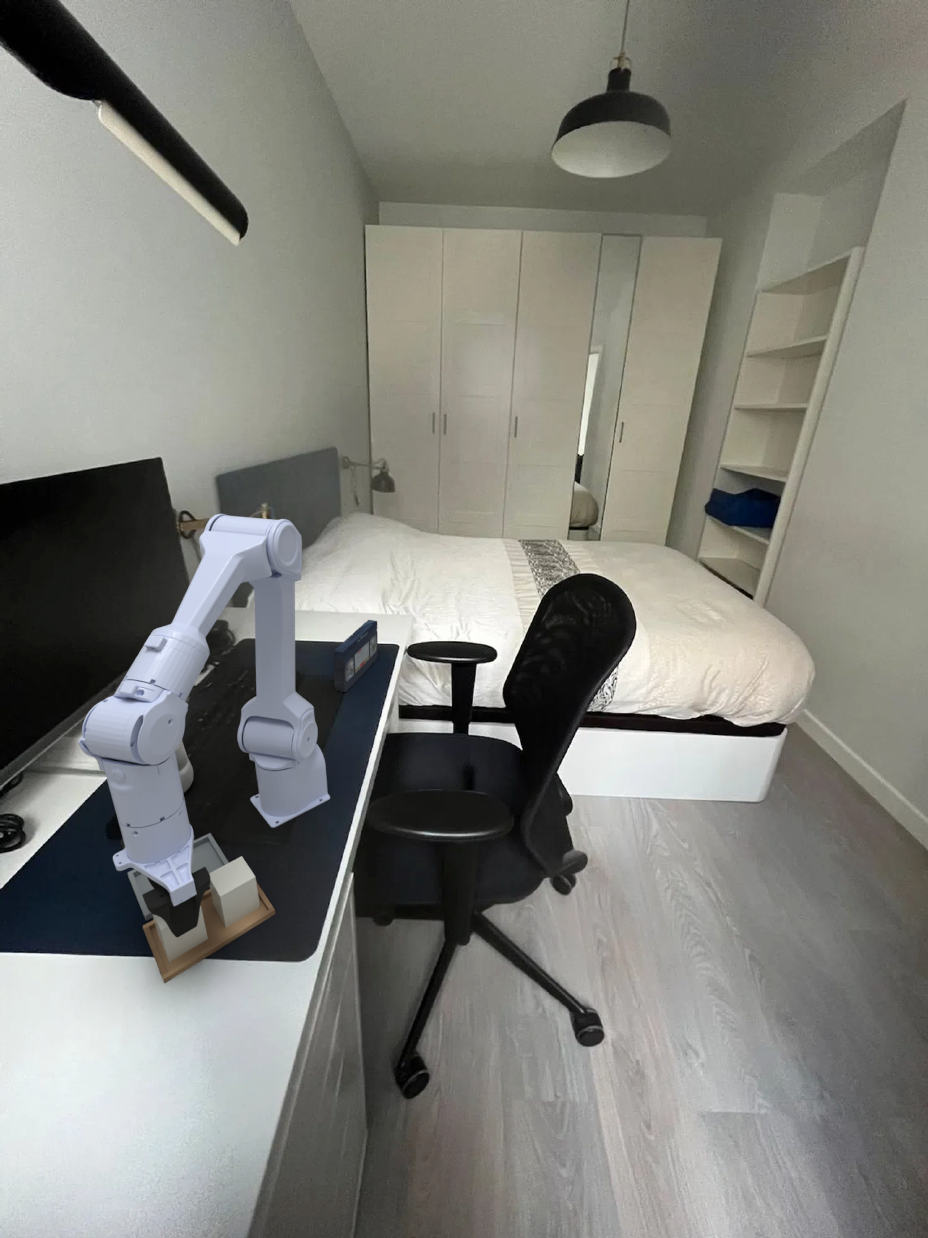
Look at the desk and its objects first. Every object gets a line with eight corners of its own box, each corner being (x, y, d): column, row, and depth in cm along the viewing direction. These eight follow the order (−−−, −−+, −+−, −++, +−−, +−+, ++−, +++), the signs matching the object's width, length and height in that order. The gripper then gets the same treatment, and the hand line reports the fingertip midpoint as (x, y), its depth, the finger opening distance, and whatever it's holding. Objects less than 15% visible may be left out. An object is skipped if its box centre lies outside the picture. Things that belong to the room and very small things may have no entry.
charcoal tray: (211, 839, 71) (210, 832, 71) (233, 875, 66) (232, 868, 66) (129, 879, 65) (127, 872, 64) (146, 923, 59) (144, 916, 59)
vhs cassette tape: (345, 694, 109) (343, 652, 105) (332, 692, 110) (330, 650, 106) (380, 658, 126) (379, 620, 122) (369, 656, 126) (367, 619, 123)
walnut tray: (248, 874, 66) (247, 868, 66) (275, 916, 61) (274, 910, 61) (144, 932, 58) (142, 926, 58) (165, 986, 53) (163, 979, 53)
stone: (246, 886, 64) (241, 856, 62) (260, 907, 62) (255, 876, 60) (213, 905, 62) (207, 874, 60) (226, 928, 59) (220, 896, 57)
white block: (195, 915, 60) (189, 884, 58) (207, 939, 58) (201, 907, 56) (158, 936, 58) (149, 904, 56) (169, 962, 55) (160, 930, 53)
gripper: (88, 787, 53) (116, 883, 58) (122, 874, 43) (152, 981, 48) (163, 759, 57) (183, 850, 62) (210, 833, 48) (228, 934, 53)
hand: (174, 905), depth 56 cm, fingers open, 7 cm apart
